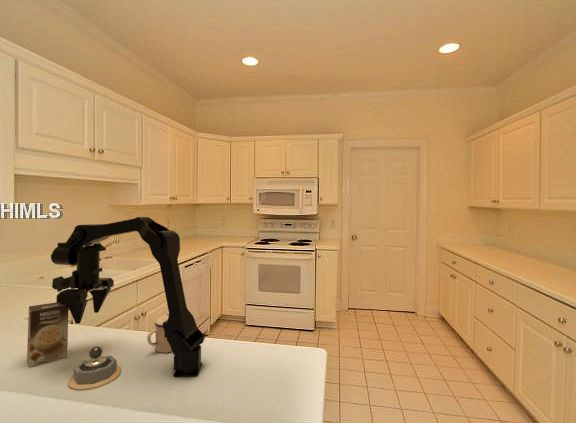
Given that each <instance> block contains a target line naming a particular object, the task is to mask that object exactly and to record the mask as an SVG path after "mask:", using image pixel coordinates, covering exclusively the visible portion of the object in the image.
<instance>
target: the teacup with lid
mask: <svg viewBox="0 0 576 423" xmlns="http://www.w3.org/2000/svg"><path fill="white" fill-rule="evenodd" d="M168 317H169V311H167V312H166V314H165V315H163V316H161V317H158V318H157V319H156V320H155V322H154V325H155V329H152V330H150V331H149V332H148V334H147V336H146V337H147V338H146V339H147V340H146V341H147V343H148V344H149V345H150V346H153V347H155V350H156V352H158V353H161V352H162V354H163V353H164V354H167V353H168V352H169V353H172V349H171V346H170V344H169V343H168V341H167V337H166V338H164V336H165V332H164V329H163V322H165V321H167V320H168ZM153 334H155V342H152V340H151V339H152V336H153Z"/></svg>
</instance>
